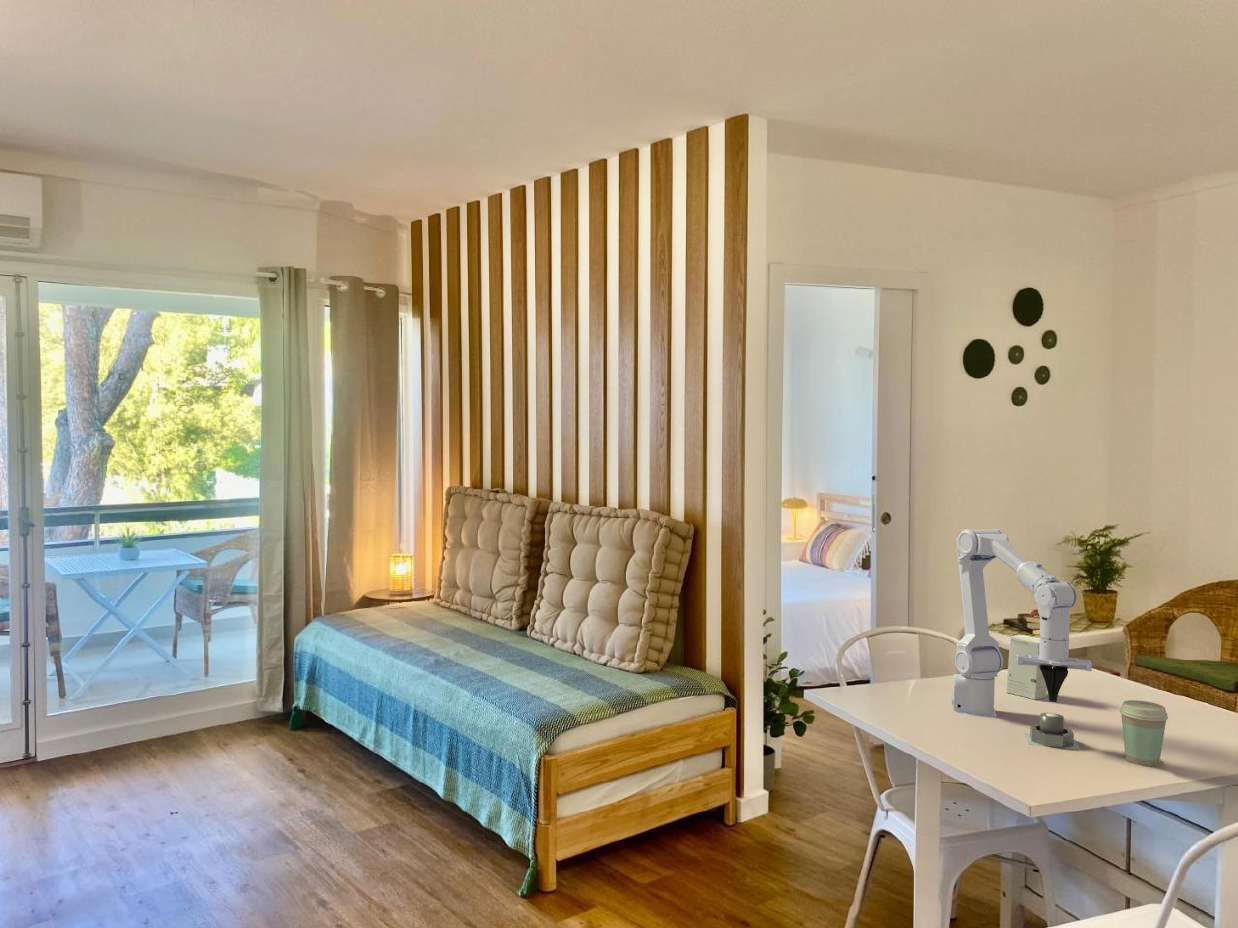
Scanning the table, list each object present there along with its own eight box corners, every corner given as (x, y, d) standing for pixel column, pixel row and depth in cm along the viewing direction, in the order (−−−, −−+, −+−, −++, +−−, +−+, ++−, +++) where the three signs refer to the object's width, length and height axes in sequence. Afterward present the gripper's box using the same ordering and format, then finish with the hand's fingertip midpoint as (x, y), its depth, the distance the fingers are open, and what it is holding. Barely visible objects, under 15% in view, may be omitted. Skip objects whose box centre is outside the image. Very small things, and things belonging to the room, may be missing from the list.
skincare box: (1005, 693, 241) (1007, 636, 240) (1018, 689, 244) (1019, 633, 244) (1037, 700, 234) (1038, 641, 234) (1049, 696, 238) (1050, 639, 237)
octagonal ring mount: (1032, 744, 197) (1033, 732, 197) (1028, 733, 205) (1029, 721, 205) (1075, 749, 195) (1075, 737, 195) (1069, 737, 202) (1070, 726, 202)
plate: (1028, 746, 198) (1028, 743, 198) (1024, 735, 205) (1024, 732, 205) (1079, 752, 194) (1079, 749, 194) (1074, 740, 202) (1074, 738, 202)
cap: (1041, 740, 198) (1041, 716, 198) (1038, 734, 203) (1039, 710, 203) (1064, 743, 197) (1065, 718, 197) (1061, 736, 201) (1062, 712, 201)
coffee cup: (1176, 770, 184) (1178, 711, 184) (1135, 771, 184) (1137, 711, 183) (1148, 756, 193) (1150, 698, 192) (1109, 756, 192) (1110, 699, 192)
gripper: (1019, 638, 198) (1017, 701, 198) (1094, 644, 193) (1093, 709, 194) (1016, 632, 205) (1014, 693, 205) (1089, 637, 200) (1087, 700, 200)
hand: (1052, 700), depth 200 cm, fingers closed
